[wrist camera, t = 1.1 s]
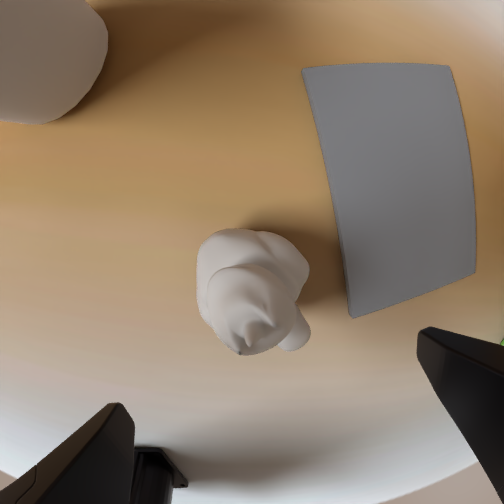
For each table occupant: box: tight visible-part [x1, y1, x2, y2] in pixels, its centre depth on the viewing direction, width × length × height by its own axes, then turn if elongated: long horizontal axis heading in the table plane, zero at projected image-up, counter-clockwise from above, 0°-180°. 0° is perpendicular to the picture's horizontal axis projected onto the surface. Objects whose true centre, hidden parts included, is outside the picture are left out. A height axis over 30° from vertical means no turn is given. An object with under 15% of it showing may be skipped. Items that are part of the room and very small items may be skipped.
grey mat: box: [301, 63, 476, 319], centre depth 15 cm, size 14×10×1 cm
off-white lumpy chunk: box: [196, 229, 311, 355], centre depth 12 cm, size 5×7×8 cm
